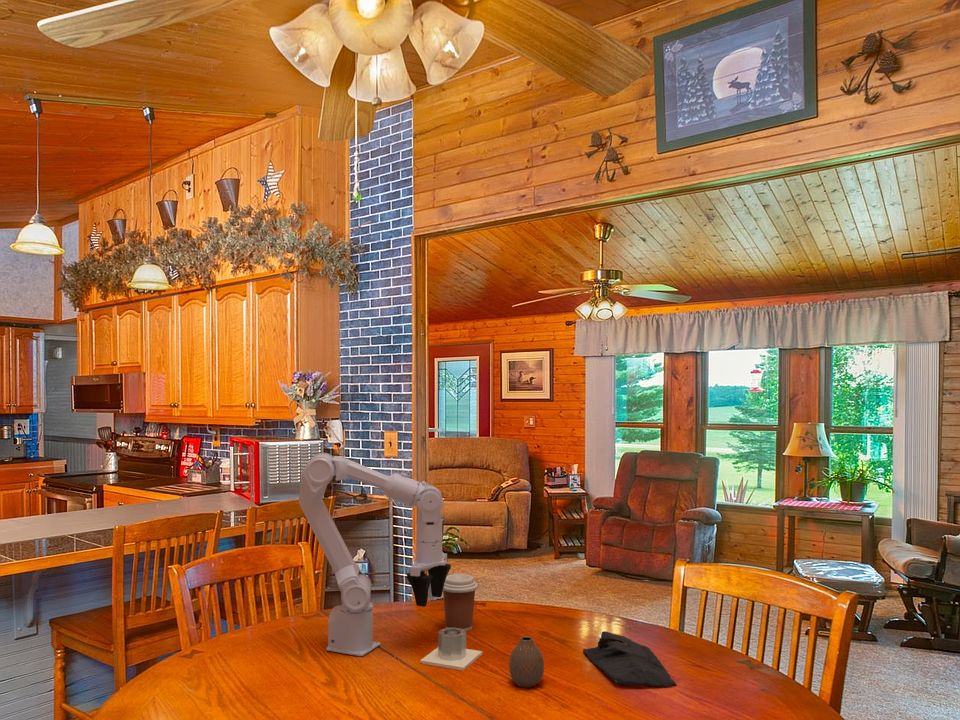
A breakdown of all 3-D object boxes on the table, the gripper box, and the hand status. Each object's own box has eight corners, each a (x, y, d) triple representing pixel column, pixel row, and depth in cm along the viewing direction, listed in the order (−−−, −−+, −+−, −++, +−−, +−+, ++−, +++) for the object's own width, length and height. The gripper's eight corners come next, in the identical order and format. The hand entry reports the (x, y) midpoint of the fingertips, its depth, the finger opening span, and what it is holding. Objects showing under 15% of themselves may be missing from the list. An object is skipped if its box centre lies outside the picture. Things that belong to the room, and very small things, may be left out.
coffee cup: (439, 622, 180) (439, 573, 181) (475, 620, 181) (475, 572, 182) (441, 634, 171) (441, 582, 172) (479, 633, 172) (479, 581, 173)
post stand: (420, 663, 154) (420, 636, 154) (441, 647, 163) (441, 622, 163) (463, 670, 150) (463, 642, 150) (482, 654, 159) (482, 628, 159)
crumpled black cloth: (604, 693, 140) (604, 668, 140) (580, 651, 162) (580, 629, 162) (682, 691, 141) (682, 666, 141) (648, 650, 163) (648, 628, 163)
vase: (520, 693, 139) (520, 646, 139) (502, 680, 145) (502, 635, 145) (551, 686, 142) (550, 640, 142) (532, 674, 148) (532, 630, 148)
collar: (434, 658, 155) (434, 634, 155) (446, 649, 160) (446, 626, 160) (458, 662, 153) (458, 637, 153) (469, 653, 158) (469, 629, 158)
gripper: (430, 548, 156) (430, 612, 156) (458, 535, 170) (458, 594, 169) (401, 545, 159) (401, 608, 159) (431, 533, 173) (431, 591, 172)
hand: (429, 601), depth 164 cm, fingers open, 7 cm apart
